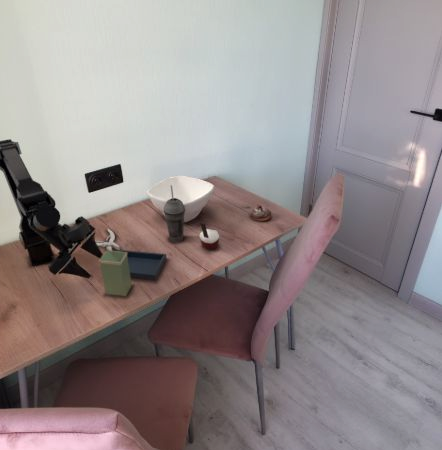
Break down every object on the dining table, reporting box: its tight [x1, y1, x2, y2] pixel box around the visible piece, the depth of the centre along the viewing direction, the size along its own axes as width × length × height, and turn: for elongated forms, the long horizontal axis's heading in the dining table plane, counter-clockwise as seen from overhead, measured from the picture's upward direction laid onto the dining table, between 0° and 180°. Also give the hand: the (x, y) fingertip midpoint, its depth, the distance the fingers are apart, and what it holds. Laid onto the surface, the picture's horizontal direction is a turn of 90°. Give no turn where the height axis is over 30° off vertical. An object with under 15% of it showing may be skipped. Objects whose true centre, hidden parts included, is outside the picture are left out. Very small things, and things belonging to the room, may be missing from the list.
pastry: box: [250, 204, 272, 222], centre depth 154 cm, size 8×8×5 cm
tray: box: [118, 249, 167, 281], centre depth 126 cm, size 11×15×2 cm
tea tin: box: [98, 250, 133, 297], centre depth 114 cm, size 5×6×12 cm
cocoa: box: [199, 222, 220, 250], centre depth 133 cm, size 10×6×12 cm, turn 135°
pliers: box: [95, 228, 121, 251], centre depth 139 cm, size 10×2×15 cm
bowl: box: [146, 175, 215, 223], centre depth 153 cm, size 22×22×12 cm
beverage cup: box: [163, 185, 185, 243], centre depth 136 cm, size 7×7×20 cm
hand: (96, 267), depth 114 cm, fingers open, 9 cm apart
